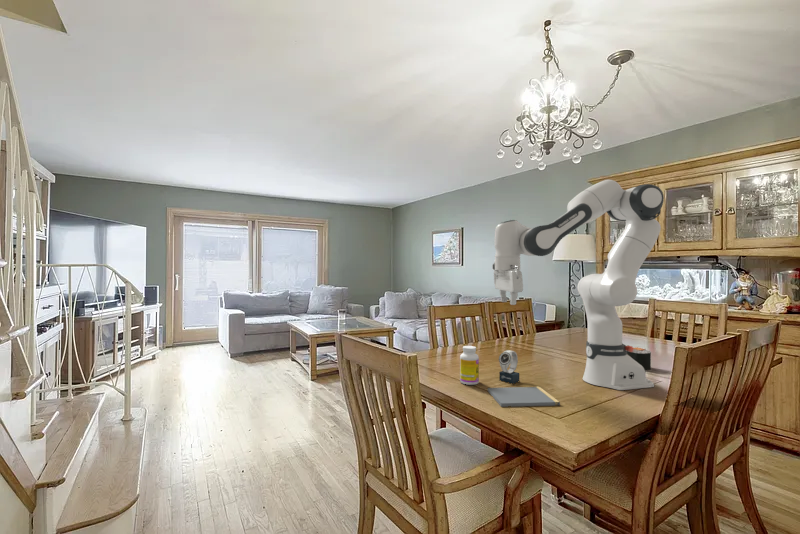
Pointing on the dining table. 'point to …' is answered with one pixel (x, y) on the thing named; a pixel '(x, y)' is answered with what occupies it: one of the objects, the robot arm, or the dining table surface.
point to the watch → (505, 361)
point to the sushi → (641, 357)
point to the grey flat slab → (522, 396)
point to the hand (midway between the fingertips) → (508, 303)
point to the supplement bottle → (469, 366)
